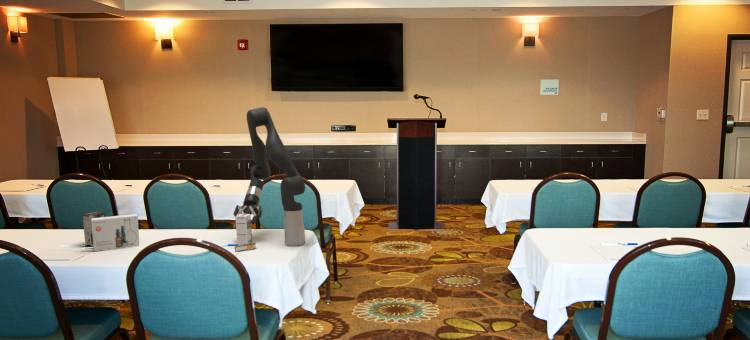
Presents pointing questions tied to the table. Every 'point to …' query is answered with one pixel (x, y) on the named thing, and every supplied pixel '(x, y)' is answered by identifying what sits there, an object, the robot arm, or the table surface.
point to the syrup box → (243, 229)
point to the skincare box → (115, 232)
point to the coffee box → (90, 225)
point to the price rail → (245, 247)
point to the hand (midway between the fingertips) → (244, 223)
